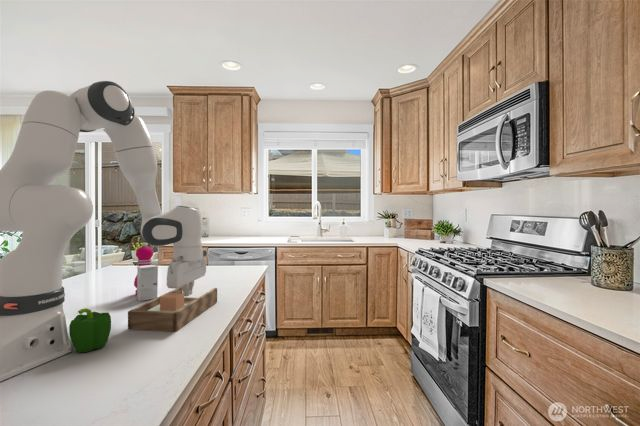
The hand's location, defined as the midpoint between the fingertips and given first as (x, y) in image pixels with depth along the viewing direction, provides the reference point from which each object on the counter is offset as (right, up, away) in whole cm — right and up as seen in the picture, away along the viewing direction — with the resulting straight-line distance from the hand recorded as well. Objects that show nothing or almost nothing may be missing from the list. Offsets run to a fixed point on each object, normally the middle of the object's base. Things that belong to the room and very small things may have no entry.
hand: (187, 295), depth 109 cm
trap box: (-1, -4, -6) cm, 7 cm away
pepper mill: (-24, -4, +17) cm, 30 cm away
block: (-1, -2, -10) cm, 10 cm away
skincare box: (-19, -4, +11) cm, 22 cm away
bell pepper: (-11, -5, -31) cm, 33 cm away
